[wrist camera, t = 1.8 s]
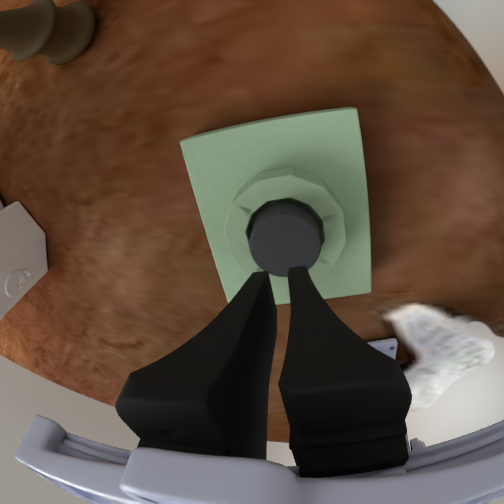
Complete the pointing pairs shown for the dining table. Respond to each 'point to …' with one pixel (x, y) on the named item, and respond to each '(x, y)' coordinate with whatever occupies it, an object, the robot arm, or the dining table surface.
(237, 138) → the green button box
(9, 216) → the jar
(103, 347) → the dining table surface
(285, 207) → the push button
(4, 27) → the kendama
